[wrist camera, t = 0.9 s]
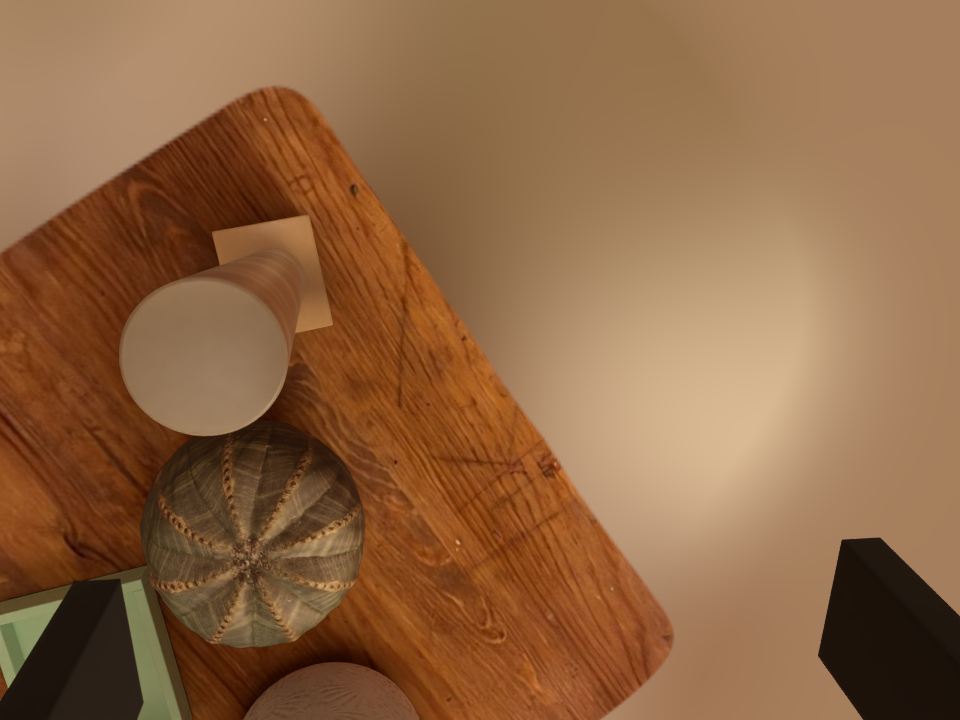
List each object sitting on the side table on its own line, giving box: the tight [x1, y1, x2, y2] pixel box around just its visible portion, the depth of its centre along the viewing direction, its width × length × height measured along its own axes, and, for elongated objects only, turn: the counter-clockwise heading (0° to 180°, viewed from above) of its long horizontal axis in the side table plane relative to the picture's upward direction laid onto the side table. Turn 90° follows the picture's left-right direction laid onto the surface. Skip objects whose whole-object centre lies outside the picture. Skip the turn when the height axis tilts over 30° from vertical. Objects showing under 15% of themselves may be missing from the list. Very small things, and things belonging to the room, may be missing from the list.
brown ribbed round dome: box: [140, 420, 365, 648], centre depth 40 cm, size 11×11×12 cm
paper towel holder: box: [119, 214, 333, 436], centre depth 30 cm, size 6×5×30 cm
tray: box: [0, 565, 192, 720], centre depth 45 cm, size 10×8×2 cm
